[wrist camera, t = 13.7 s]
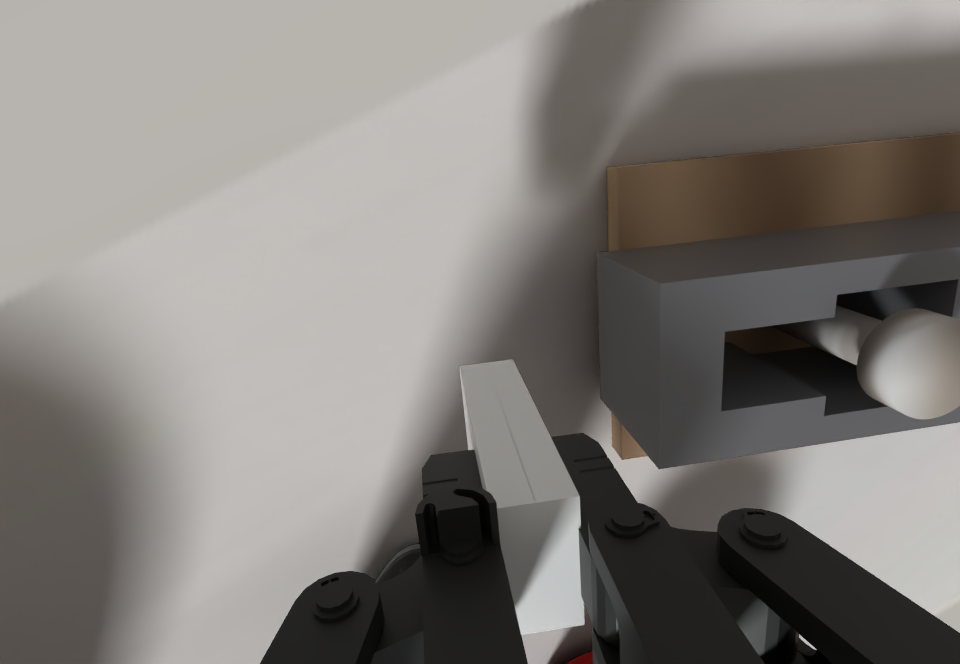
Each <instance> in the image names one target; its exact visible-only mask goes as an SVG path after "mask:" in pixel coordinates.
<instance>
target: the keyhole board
mask: <svg viewBox="0 0 960 664" xmlns="http://www.w3.org/2000/svg"><path fill="white" fill-rule="evenodd" d="M607 194H608V247H609V251H616V250H625V249H634V248H642V247H651V246H660V245H668V244H677V243H686V242H694V241H703V240H712V239H720V238H729V237H738V236H746V235H755V234H763V233H772V232H781V231H789V230H798V229H807V228H815V227H824V226H833V225H841V224H850V223H859V222H867V221H876V220H885V219H893V218H902V217H911V216H919V215H928V214H936V213H945V212H954V211H960V132H959V133H949V134H939V135H929V136H919V137H908V138H898V139H888V140H878V141H868V142H858V143H848V144H838V145H827V146H817V147H807V148H797V149H787V150H777V151H767V152H756V153H746V154H736V155H726V156H716V157H706V158H696V159H686V160H675V161H665V162H655V163H645V164H635V165H625V166H615V167H607ZM726 342H730V343H732V344H734V345H736V346H738V347H739V348H741V349H743V350H745V351H746V352H748V353H750V354H752V355H754V354H761V353H769V352H776V351H783V350H790V349H798V348H805V347H812V346H815V347H817V348H819V349H821V350H824V351H826V352H828V353H830V354H832V355H835V356H837V357H839V358H841V359H844V360H846V361H848V362H850V363H852V364H855V365H857V377H858V381H859V384H860V386H861V387H862V389H863V390H864V392H865V393H866V394H867V395H869V396H870V397H871V398H873V399H875V400H877V401H879V402H881V403H883V404H885V405H887V406H889V407H891V408H893V409H895V410H897V411H899V412H901V413H903V414H905V415H906V416H909V417H911V418H915V419H933V418H937V417H940V416H943V415H945V414H947V413H949V412H951V411H953V410H954V409H956V408H957V407H959V406H960V319H956V318H953V317H949V316H946V315H942V314H939V313H935V312H932V311H929V310H925V309H918V308H914V309H906V310H902V311H899V312H897V313H895V314H892V315H891V316H889V317H887V318H886V319H884V320H883V321H881V320H878V319H875V318H872V317H870V316H867V315H864V314H861V313H858V312H855V311H852V310H849V309H846V308H843V307H840V306H837V305H836V309H835V317H833V318H825V319H818V320H810V321H803V322H795V323H788V324H780V325H773V326H765V327H758V328H750V329H743V330H735V331H728V332H725V339H724V343H726ZM612 446H613V448H614V449H615V451H616V452H617V453H618V455H619V456H620V457H621V459H622V460H624V459H630V458H637V457H644V456H648V455H647V454H646V453H645V452H644V450H643V449H642V448H641V447H640V446H639V444H638V443H637V442H636V441H635V440H634V438H633V437H632V436H631V435H630V434H629V432H628V431H627V430H626V429H625V427H624V426H623V425H622V424H621V423H620V421H619V420H618V419H617V418H616V417H615V415H614V414H613V413H612Z"/></svg>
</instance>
